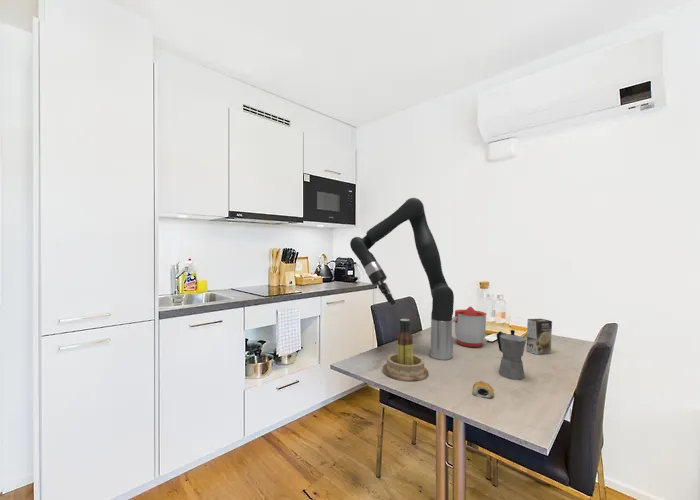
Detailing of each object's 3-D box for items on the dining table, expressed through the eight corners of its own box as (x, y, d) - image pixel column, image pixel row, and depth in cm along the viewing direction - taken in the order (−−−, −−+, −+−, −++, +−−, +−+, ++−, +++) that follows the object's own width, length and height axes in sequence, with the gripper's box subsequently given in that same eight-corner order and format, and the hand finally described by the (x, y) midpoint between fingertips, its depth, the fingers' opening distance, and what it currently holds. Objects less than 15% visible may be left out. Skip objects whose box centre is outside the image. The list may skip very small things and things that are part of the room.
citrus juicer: (448, 339, 176) (449, 303, 176) (480, 341, 173) (482, 304, 173) (453, 347, 160) (454, 308, 160) (489, 350, 158) (490, 310, 158)
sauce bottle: (414, 367, 128) (415, 318, 128) (412, 373, 122) (413, 322, 122) (398, 365, 131) (399, 317, 130) (395, 370, 125) (396, 320, 125)
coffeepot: (534, 381, 121) (535, 334, 121) (513, 382, 119) (514, 334, 119) (506, 366, 136) (507, 324, 136) (486, 367, 134) (487, 325, 134)
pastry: (473, 385, 116) (473, 375, 116) (493, 389, 113) (493, 378, 113) (472, 396, 107) (472, 385, 107) (494, 400, 104) (494, 389, 104)
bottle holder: (413, 362, 138) (413, 350, 138) (437, 378, 121) (438, 365, 121) (375, 366, 132) (375, 354, 132) (395, 383, 115) (395, 370, 115)
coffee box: (537, 355, 152) (538, 321, 152) (525, 351, 158) (526, 318, 158) (551, 353, 155) (552, 320, 155) (539, 349, 161) (540, 318, 161)
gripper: (379, 265, 143) (397, 296, 137) (384, 272, 156) (401, 300, 150) (365, 274, 143) (382, 305, 137) (371, 280, 157) (387, 308, 151)
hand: (392, 303), depth 144 cm, fingers open, 8 cm apart
